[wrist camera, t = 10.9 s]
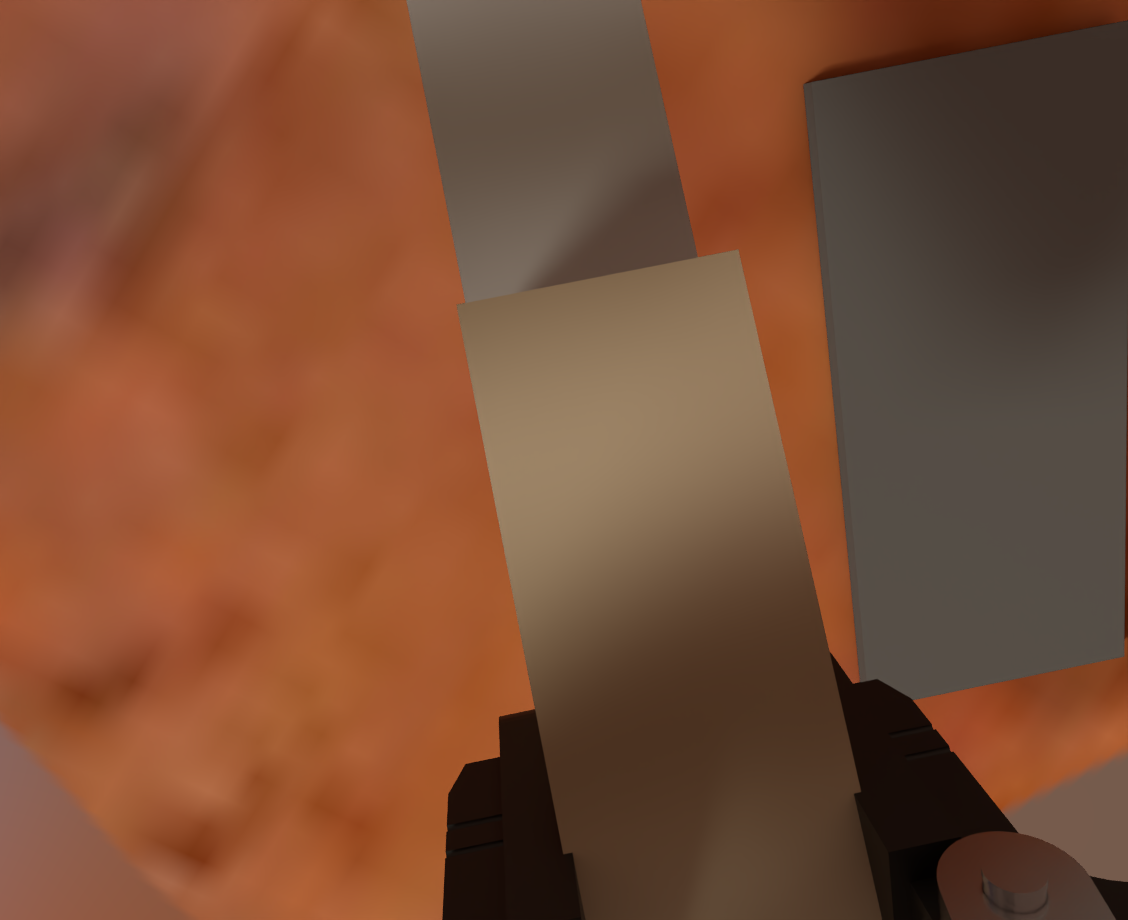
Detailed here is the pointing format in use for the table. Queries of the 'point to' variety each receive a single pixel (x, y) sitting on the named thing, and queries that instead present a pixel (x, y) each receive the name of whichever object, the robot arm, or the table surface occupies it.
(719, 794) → the stepped beige bar
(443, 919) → the robot arm
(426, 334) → the table surface
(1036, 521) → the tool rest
